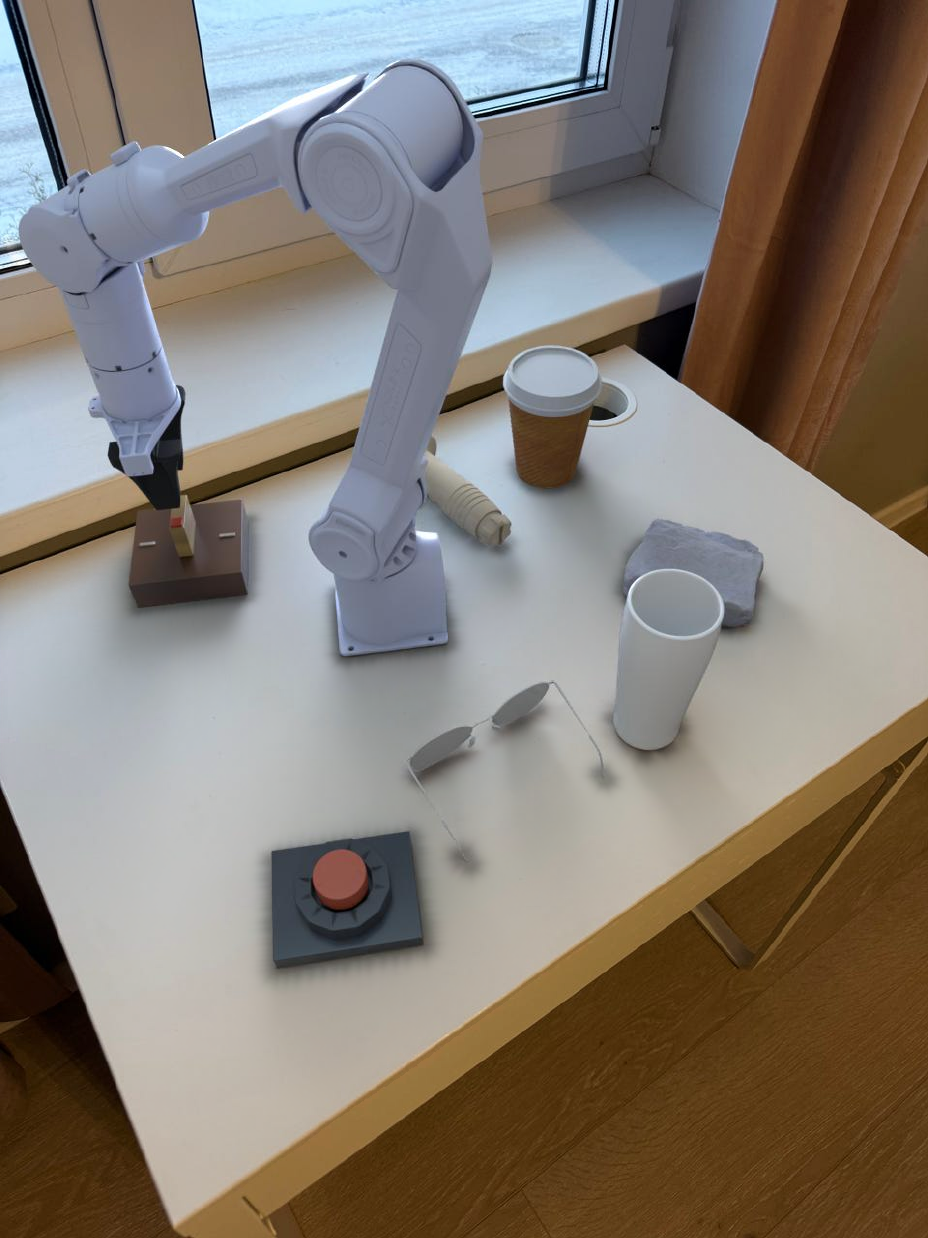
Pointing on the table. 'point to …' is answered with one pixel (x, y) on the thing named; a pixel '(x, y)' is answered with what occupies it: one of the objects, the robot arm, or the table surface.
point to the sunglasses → (458, 735)
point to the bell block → (356, 931)
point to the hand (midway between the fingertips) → (169, 487)
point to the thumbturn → (183, 528)
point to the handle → (464, 501)
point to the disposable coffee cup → (550, 411)
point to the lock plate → (190, 577)
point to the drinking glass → (663, 653)
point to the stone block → (702, 564)
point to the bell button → (340, 879)
